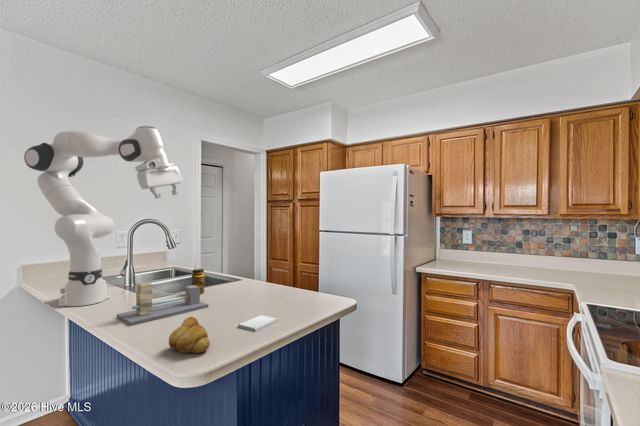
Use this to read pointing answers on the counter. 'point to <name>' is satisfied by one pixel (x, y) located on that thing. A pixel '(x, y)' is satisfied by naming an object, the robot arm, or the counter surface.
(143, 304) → the notched wooden block
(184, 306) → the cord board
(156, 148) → the robot arm
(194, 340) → the bread roll
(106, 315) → the counter surface
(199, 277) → the condiment
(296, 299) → the counter surface
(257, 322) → the hard drive
